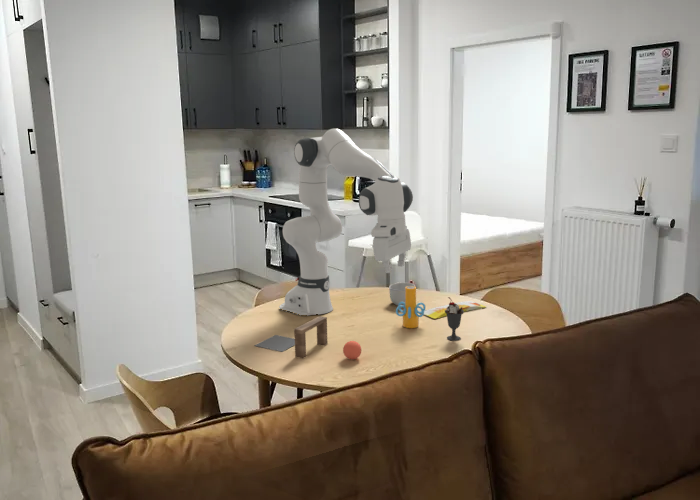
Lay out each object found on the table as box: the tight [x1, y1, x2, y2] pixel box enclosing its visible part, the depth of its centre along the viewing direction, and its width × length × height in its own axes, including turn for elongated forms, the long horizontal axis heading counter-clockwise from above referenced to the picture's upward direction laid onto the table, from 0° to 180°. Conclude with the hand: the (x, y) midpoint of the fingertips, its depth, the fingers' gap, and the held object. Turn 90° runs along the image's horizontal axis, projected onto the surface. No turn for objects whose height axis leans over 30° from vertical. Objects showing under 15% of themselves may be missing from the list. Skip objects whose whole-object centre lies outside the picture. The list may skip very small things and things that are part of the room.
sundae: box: [445, 297, 465, 342], centre depth 218 cm, size 7×7×15 cm
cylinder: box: [395, 285, 426, 329], centre depth 232 cm, size 12×10×15 cm
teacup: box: [388, 281, 416, 306], centre depth 262 cm, size 14×11×8 cm
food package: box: [423, 300, 487, 320], centre depth 251 cm, size 27×2×10 cm
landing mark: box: [254, 334, 295, 353], centre depth 218 cm, size 12×12×1 cm
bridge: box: [293, 315, 329, 359], centre depth 210 cm, size 3×15×10 cm, turn 149°
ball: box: [342, 340, 362, 360], centre depth 202 cm, size 6×6×6 cm
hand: (394, 269), depth 201 cm, fingers open, 8 cm apart
